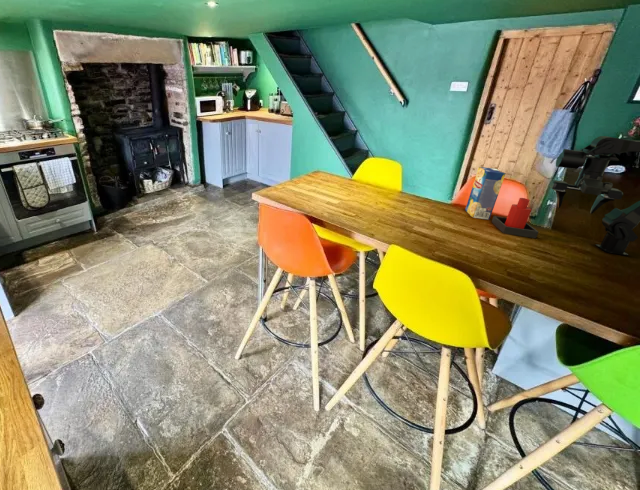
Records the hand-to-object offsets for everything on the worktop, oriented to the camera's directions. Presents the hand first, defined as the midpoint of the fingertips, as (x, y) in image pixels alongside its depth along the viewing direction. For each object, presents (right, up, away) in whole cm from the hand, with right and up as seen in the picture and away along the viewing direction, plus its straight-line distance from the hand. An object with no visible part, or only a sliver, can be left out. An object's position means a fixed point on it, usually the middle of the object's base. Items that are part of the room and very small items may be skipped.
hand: (574, 210), depth 116 cm
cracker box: (-17, -2, +29) cm, 33 cm away
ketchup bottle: (-13, -8, +12) cm, 20 cm away
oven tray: (-14, -8, +12) cm, 20 cm away
